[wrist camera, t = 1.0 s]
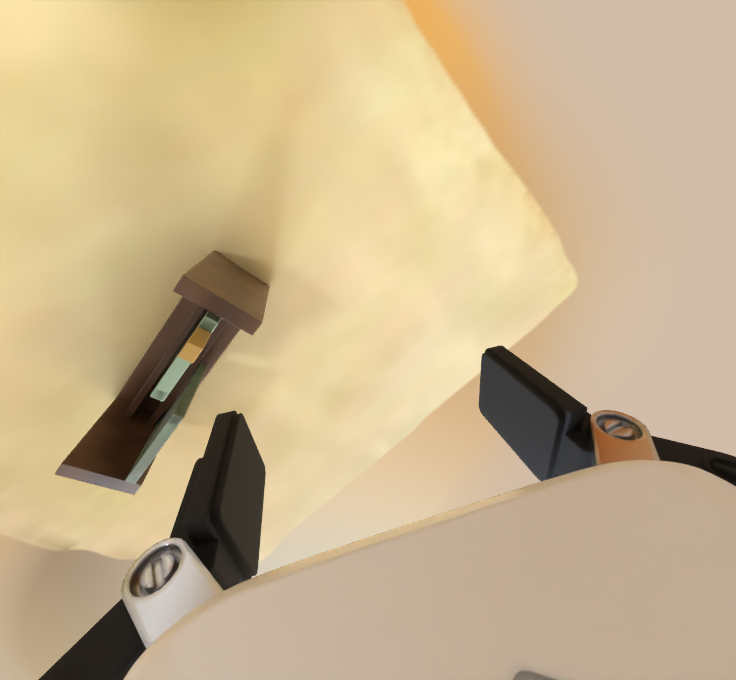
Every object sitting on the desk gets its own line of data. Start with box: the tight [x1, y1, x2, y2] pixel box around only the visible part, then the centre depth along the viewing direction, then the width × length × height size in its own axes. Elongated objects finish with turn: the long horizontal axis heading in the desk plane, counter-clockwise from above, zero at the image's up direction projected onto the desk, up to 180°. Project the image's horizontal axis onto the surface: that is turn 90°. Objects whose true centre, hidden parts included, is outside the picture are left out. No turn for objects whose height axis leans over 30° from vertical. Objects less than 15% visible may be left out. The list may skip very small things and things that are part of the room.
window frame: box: [55, 250, 269, 495], centre depth 33 cm, size 7×24×12 cm, turn 139°
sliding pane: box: [150, 311, 221, 401], centre depth 30 cm, size 1×10×13 cm, turn 139°
